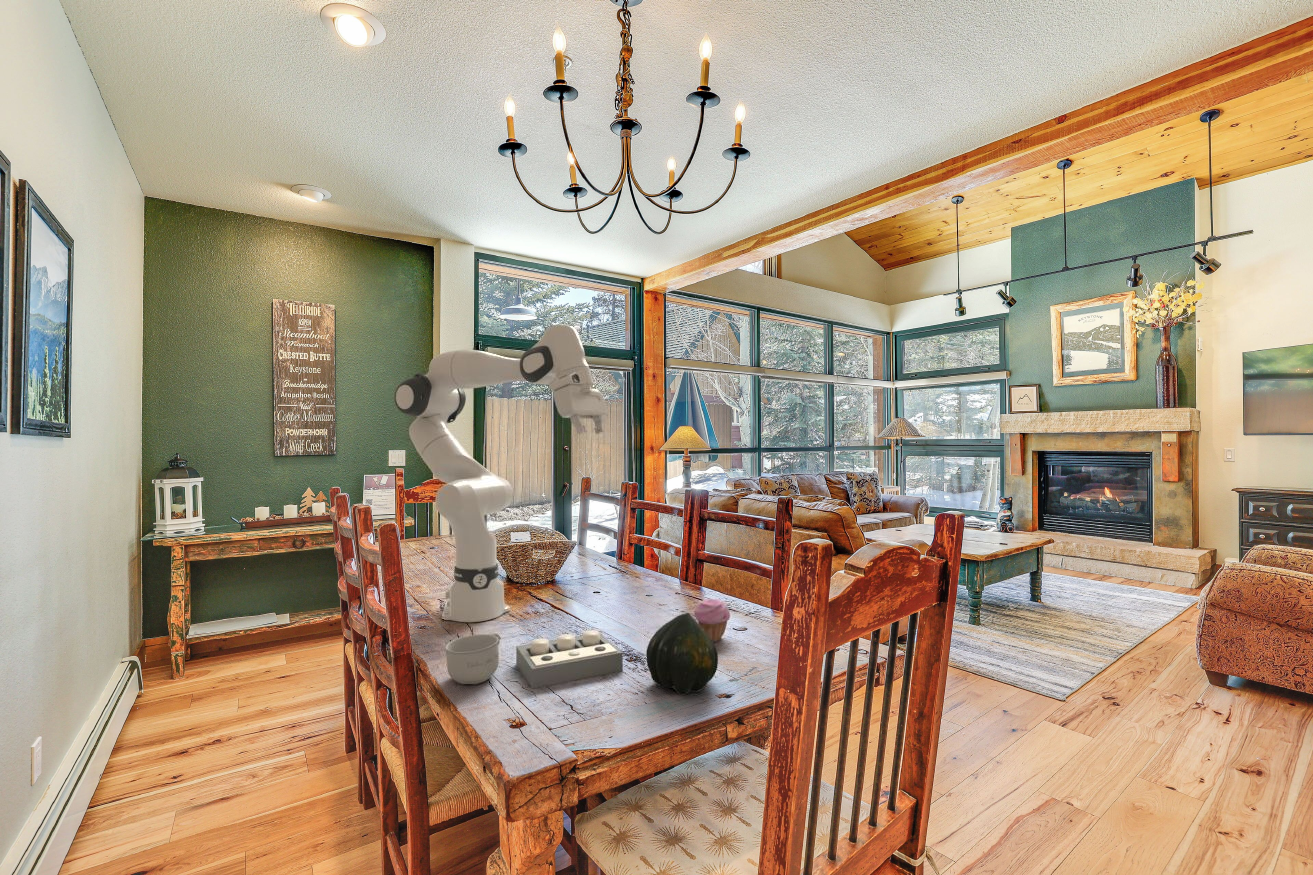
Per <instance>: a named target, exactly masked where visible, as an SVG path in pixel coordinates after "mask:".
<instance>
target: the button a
mask: <svg viewBox="0 0 1313 875" xmlns="http://www.w3.org/2000/svg"><path fill="white" fill-rule="evenodd" d="M549 641H550V640H549V639H547V638H535V639H532V640H531V641H530V643H529V644H530V655H531V657H532V656H538V655H544V654H549Z"/></svg>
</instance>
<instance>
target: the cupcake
mask: <svg viewBox="0 0 1313 875" xmlns="http://www.w3.org/2000/svg"><path fill="white" fill-rule="evenodd" d="M729 609H730V608H728V605H727V604H726V603H725V602H724V601H723V600H721V599H717V598H713V599H712V598H710V599H703V600H701V601H700V603H698V604H696V606H695V609H694V613H693V615H694V619H695V620H696V621H697V623H698V624H699V625H700V626H701V628H702V629H703V630H704V631H705V632H706V633H707V635H708V636H709V637H710V638H711V640H712V641H713V643H717V642H718V641H719V640H720V639H722V637H723V635H724V634H725V632H726V630H727V624H728V622H729V620H730V617H731V613H730V610H729Z"/></svg>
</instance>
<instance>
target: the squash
mask: <svg viewBox="0 0 1313 875" xmlns="http://www.w3.org/2000/svg"><path fill="white" fill-rule="evenodd" d="M645 653H646V664H647V669H648V671H649V673H650V677H651V679H652V681H653V682H654V683H655V684H656V685H658V686H661V687H666V688H669V689H670V688H674V689H673V690H675V692H676V693H677V694H679V695H680V696H685V695H687V694H689V692H695V693H696V692H701V691H702V690H704V689H705V687H706V686H707V684H708V683H709V682H710V681H711V680H712V679H713V678H714V676H715V674H716V672H717V669H718V666H719V665H718V664H719V655H718V650H717V647H716V645H715V642H713V641H712V640H711V638H710V637H709V636H708V635H707V633H706V632H705V631H704V630H703V629H702V628H701V626H700V625H699V624H698V621H697V619H696V618H695V617H694V616H692V615H691V614H690V613H689V612H686V613H682V614H679V615H677V616H675V617H674V618H672V619H671V620H670V621H668V622H666V623H665V624H664V625H662V626H660V627H659V629H657V630H656V632H655V633H654V634H653V636H652V637H651V638H650V640H649V643H648V645H647V646H646V652H645Z"/></svg>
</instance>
